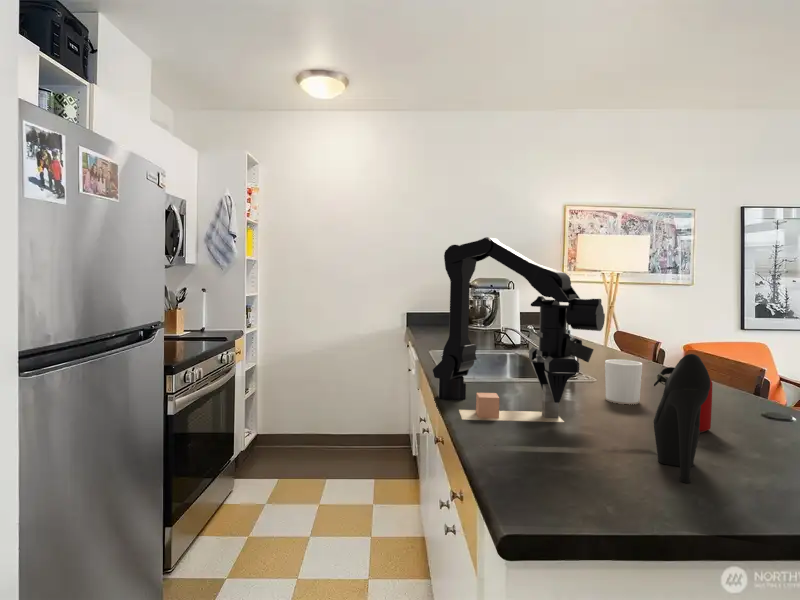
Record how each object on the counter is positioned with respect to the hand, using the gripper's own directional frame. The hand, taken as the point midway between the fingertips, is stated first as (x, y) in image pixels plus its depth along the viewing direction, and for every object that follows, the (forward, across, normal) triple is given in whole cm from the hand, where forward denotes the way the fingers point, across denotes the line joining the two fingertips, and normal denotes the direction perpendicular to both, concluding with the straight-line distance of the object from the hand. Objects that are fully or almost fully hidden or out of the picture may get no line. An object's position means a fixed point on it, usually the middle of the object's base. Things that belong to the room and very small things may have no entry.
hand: (550, 397), depth 109 cm
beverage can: (+5, -4, -29) cm, 30 cm away
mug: (+5, +21, -24) cm, 32 cm away
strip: (+5, 0, +9) cm, 10 cm away
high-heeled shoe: (+5, -26, -14) cm, 30 cm away
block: (+4, 0, +14) cm, 15 cm away
